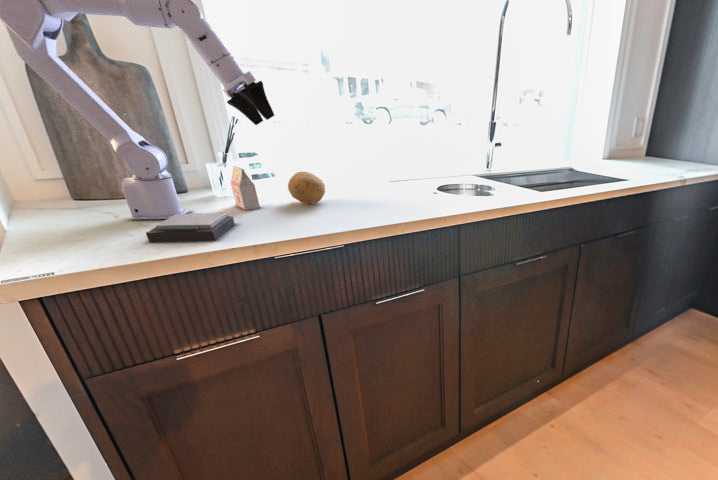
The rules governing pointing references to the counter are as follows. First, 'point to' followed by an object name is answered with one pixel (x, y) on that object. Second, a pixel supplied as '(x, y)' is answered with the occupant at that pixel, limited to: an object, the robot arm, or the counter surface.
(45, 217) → the counter surface
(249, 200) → the grey angular block
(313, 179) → the potato
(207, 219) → the scale
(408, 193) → the counter surface
